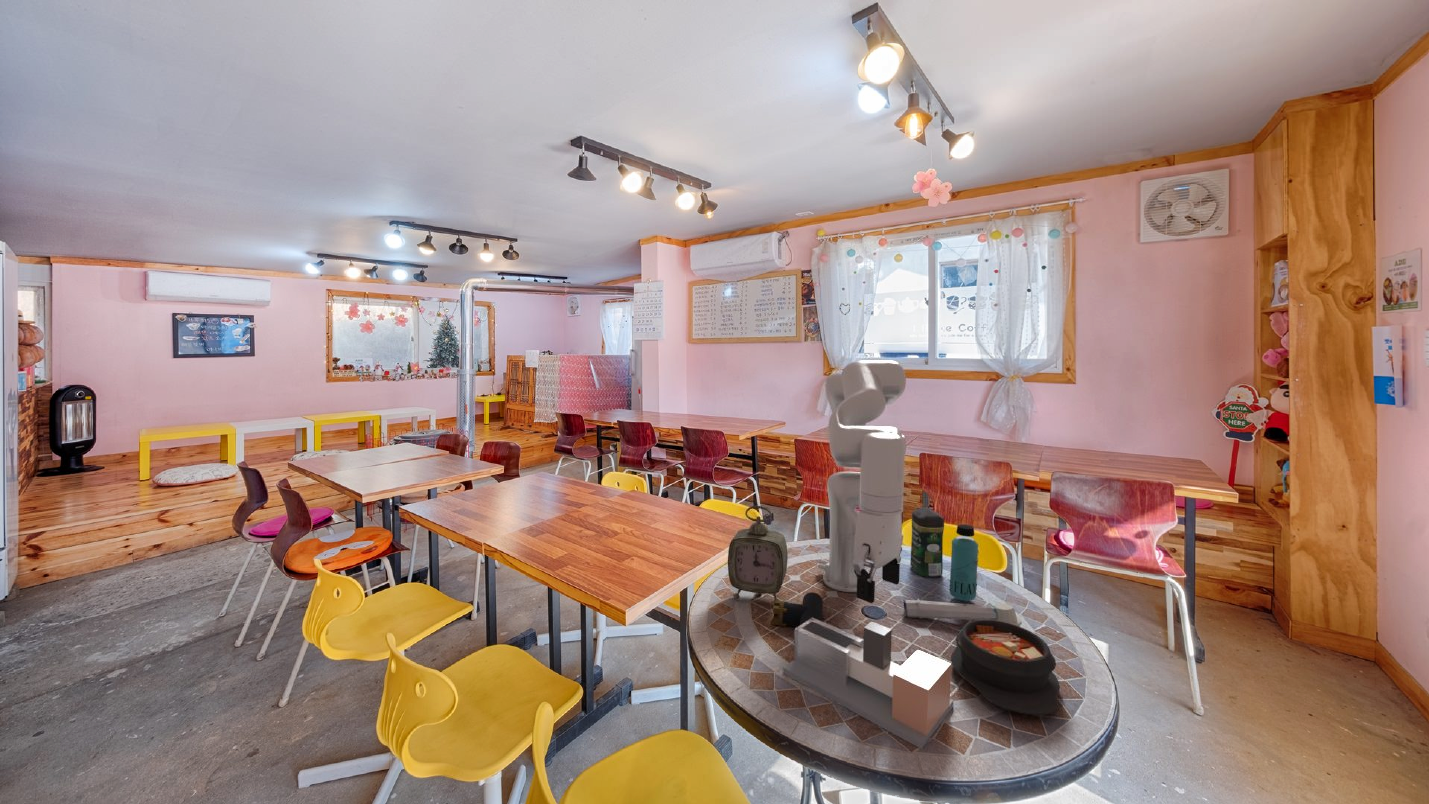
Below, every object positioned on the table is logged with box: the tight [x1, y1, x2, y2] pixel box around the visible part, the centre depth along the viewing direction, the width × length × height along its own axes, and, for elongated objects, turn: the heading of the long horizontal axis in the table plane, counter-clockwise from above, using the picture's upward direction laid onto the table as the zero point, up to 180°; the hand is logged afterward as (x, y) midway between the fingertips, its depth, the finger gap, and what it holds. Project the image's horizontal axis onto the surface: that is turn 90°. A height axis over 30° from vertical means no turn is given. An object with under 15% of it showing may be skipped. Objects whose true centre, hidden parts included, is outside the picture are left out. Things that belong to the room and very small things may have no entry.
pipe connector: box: [772, 591, 824, 628], centre depth 120 cm, size 12×5×15 cm
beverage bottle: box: [948, 523, 979, 602], centre depth 130 cm, size 6×7×20 cm
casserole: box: [950, 619, 1061, 716], centre depth 99 cm, size 25×19×8 cm
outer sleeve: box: [793, 618, 864, 686], centre depth 102 cm, size 12×6×7 cm, turn 45°
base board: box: [782, 659, 954, 750], centre depth 97 cm, size 28×14×1 cm, turn 45°
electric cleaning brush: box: [903, 598, 1023, 627], centre depth 120 cm, size 5×7×25 cm
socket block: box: [892, 649, 952, 736], centre depth 88 cm, size 6×10×8 cm, turn 135°
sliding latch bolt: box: [846, 621, 902, 698], centre depth 93 cm, size 16×4×11 cm, turn 45°
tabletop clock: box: [727, 505, 789, 602], centre depth 132 cm, size 14×9×25 cm, turn 73°
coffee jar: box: [909, 507, 945, 578], centre depth 148 cm, size 10×8×19 cm
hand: (878, 590), depth 93 cm, fingers open, 9 cm apart
